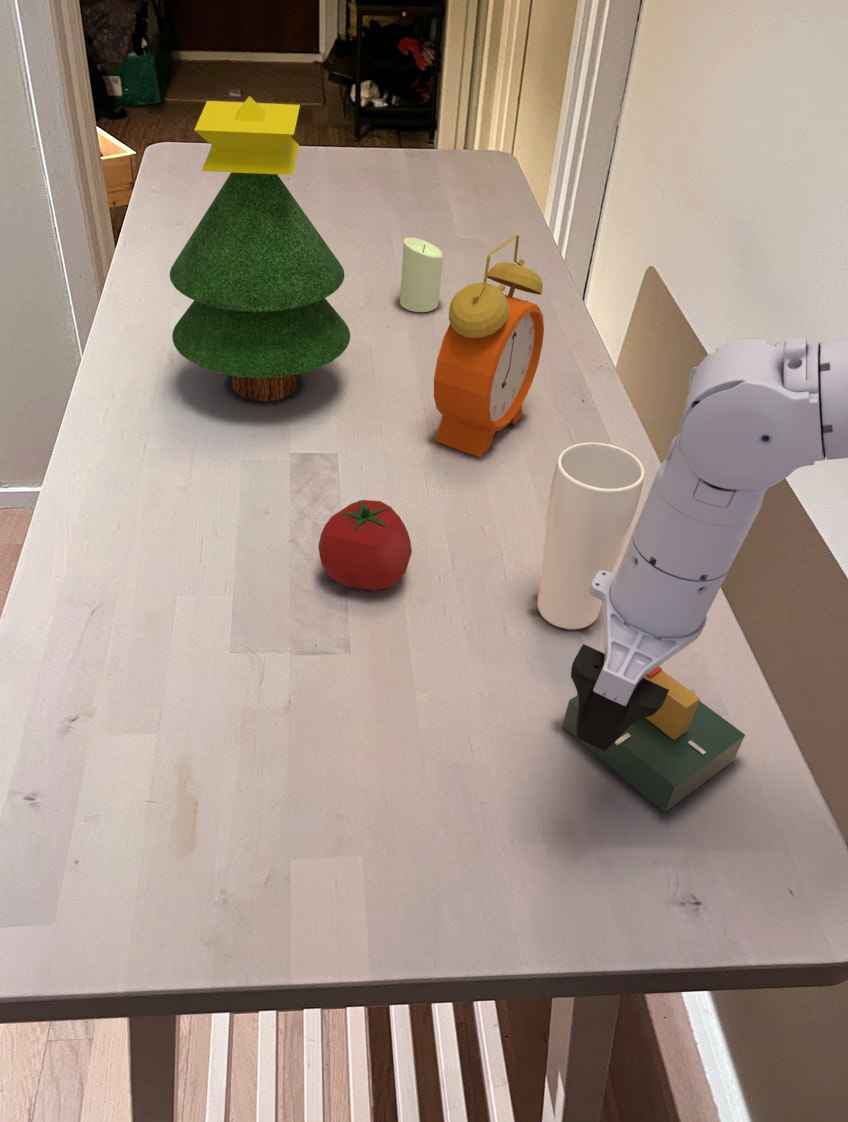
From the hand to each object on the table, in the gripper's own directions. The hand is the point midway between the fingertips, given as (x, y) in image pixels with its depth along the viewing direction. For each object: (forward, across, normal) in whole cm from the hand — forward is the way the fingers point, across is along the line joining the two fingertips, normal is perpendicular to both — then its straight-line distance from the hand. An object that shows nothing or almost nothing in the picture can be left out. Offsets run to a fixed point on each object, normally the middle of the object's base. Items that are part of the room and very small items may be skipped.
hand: (611, 703), depth 66 cm
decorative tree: (+13, -36, -50) cm, 63 cm away
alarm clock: (+11, -40, -25) cm, 49 cm away
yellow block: (+5, -6, +3) cm, 9 cm away
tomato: (+11, -13, -24) cm, 29 cm away
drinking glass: (+9, -17, -7) cm, 21 cm away
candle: (+12, -64, -45) cm, 79 cm away
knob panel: (+8, -6, +3) cm, 11 cm away
